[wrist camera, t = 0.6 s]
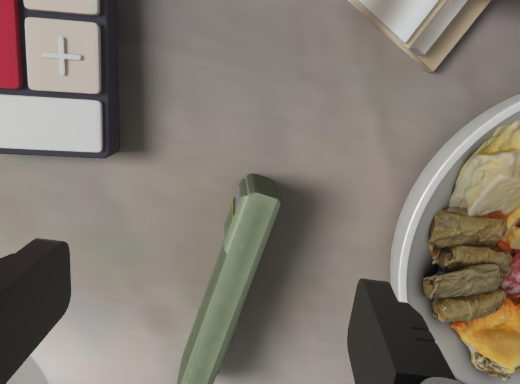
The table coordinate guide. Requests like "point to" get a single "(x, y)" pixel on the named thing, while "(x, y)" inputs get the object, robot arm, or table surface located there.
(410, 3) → the rail board
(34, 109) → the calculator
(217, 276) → the handheld radio
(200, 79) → the table surface
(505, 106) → the bowl
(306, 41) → the table surface
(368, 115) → the table surface
